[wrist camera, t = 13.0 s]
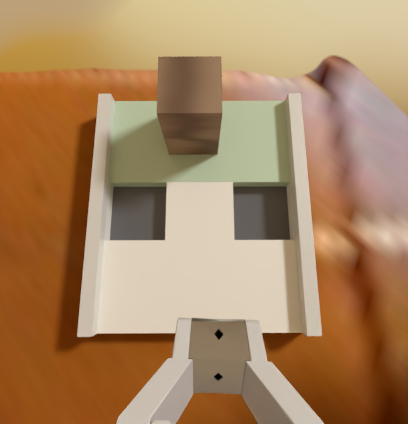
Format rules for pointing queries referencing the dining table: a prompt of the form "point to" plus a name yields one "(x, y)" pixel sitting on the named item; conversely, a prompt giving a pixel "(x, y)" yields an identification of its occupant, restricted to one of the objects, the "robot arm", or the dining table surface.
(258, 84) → the dining table surface
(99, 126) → the board
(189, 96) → the walnut block
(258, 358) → the robot arm
